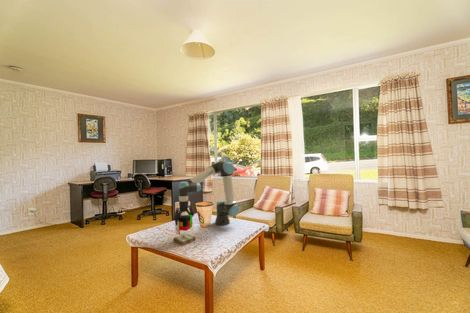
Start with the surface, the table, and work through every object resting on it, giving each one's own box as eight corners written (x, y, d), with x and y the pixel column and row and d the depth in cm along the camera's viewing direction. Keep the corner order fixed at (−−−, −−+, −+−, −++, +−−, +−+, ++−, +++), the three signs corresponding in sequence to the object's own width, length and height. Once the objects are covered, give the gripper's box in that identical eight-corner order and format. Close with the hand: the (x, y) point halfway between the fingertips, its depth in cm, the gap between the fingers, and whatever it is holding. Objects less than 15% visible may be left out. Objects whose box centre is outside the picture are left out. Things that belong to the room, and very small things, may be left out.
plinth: (186, 236, 189) (186, 233, 189) (195, 240, 181) (195, 236, 180) (173, 241, 179) (173, 237, 179) (182, 245, 171) (182, 241, 171)
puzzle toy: (175, 229, 176) (175, 217, 176) (182, 225, 186) (181, 214, 186) (186, 230, 173) (186, 218, 173) (192, 226, 183) (192, 215, 183)
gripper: (192, 197, 191) (192, 221, 191) (168, 202, 173) (168, 229, 173) (198, 198, 186) (198, 223, 186) (173, 203, 168) (174, 231, 168)
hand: (184, 226), depth 180 cm, fingers closed on puzzle toy, 12 cm apart
